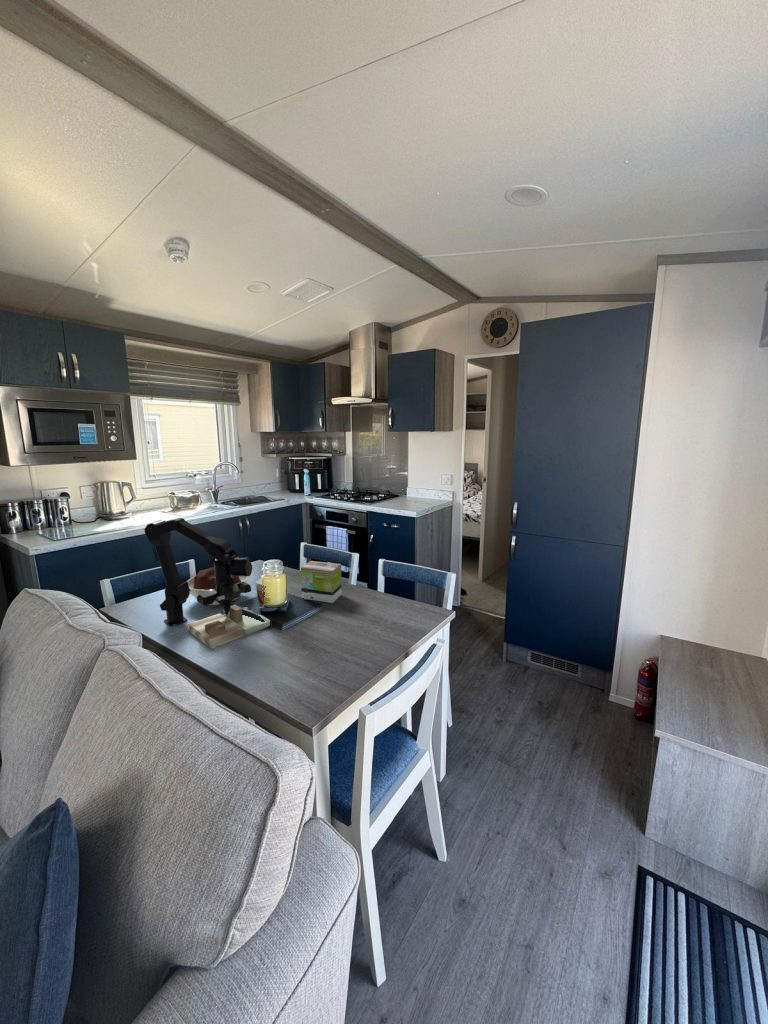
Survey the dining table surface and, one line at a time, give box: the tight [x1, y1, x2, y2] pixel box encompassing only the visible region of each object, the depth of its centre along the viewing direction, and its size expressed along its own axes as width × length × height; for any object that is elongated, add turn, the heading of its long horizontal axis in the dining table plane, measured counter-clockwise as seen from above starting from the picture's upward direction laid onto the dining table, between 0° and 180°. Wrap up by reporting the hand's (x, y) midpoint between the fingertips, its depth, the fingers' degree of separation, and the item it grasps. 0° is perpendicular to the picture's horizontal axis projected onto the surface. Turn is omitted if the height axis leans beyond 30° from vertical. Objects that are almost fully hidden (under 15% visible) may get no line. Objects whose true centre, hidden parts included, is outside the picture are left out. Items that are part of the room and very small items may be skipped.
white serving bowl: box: [186, 566, 249, 606], centre depth 182 cm, size 25×25×15 cm
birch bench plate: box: [187, 613, 245, 649], centre depth 154 cm, size 18×12×3 cm, turn 47°
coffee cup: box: [255, 577, 266, 607], centre depth 174 cm, size 9×9×12 cm
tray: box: [222, 606, 272, 637], centre depth 162 cm, size 18×11×2 cm, turn 47°
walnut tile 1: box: [229, 604, 243, 623], centre depth 164 cm, size 5×5×2 cm
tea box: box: [300, 560, 342, 604], centre depth 185 cm, size 15×10×15 cm, turn 73°
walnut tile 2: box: [205, 620, 226, 636], centre depth 149 cm, size 5×5×2 cm
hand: (226, 614), depth 161 cm, fingers closed
